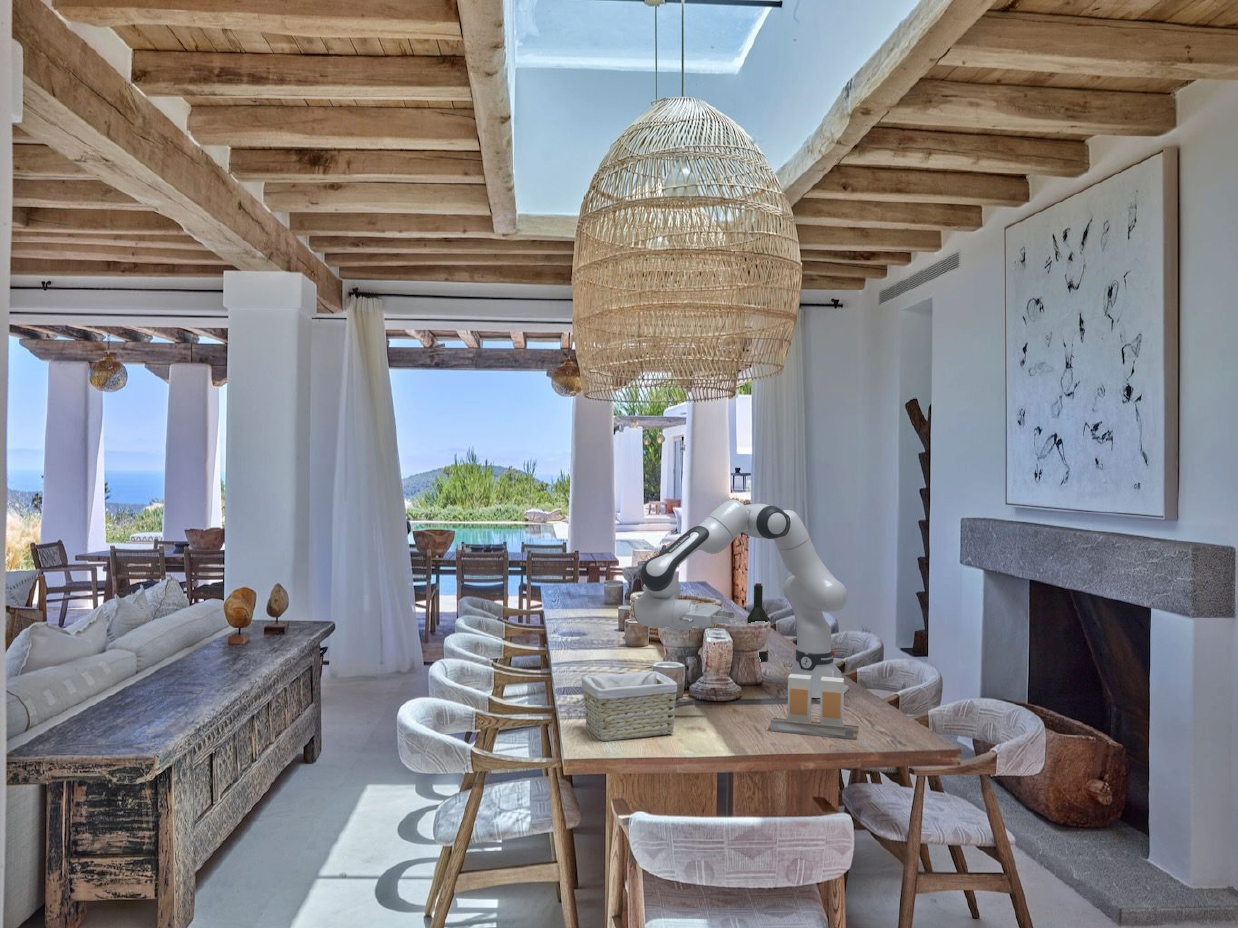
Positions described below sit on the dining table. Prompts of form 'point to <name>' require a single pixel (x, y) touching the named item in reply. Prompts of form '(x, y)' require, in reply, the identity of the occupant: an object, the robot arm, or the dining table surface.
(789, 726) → the shelf board
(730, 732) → the dining table surface
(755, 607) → the wine bottle
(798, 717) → the cream carton
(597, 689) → the storage basket
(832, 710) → the carton
